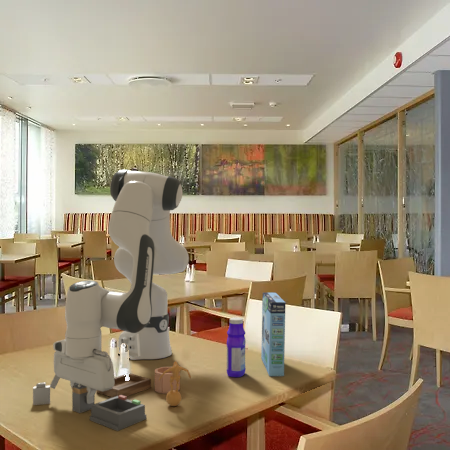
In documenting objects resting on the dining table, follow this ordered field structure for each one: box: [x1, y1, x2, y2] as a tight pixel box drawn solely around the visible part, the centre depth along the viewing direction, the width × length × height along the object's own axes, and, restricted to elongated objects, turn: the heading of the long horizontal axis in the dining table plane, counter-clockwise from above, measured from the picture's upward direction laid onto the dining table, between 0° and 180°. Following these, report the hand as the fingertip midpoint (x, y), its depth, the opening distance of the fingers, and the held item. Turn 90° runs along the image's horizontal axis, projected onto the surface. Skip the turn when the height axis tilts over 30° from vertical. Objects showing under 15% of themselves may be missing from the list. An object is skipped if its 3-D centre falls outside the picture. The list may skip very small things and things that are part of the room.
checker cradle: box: [89, 395, 147, 432], centre depth 126 cm, size 10×9×4 cm
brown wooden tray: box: [96, 372, 152, 398], centre depth 147 cm, size 9×12×2 cm
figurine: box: [159, 360, 192, 407], centre depth 134 cm, size 8×6×12 cm
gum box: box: [260, 292, 286, 378], centre depth 169 cm, size 20×5×23 cm, turn 3°
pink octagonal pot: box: [154, 366, 181, 395], centre depth 148 cm, size 7×7×5 cm
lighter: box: [32, 374, 61, 406], centre depth 137 cm, size 7×2×8 cm, turn 105°
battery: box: [71, 384, 96, 414], centre depth 133 cm, size 3×4×6 cm, turn 142°
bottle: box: [226, 316, 247, 378], centre depth 162 cm, size 7×6×17 cm
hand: (83, 400), depth 133 cm, fingers closed on battery, 3 cm apart
